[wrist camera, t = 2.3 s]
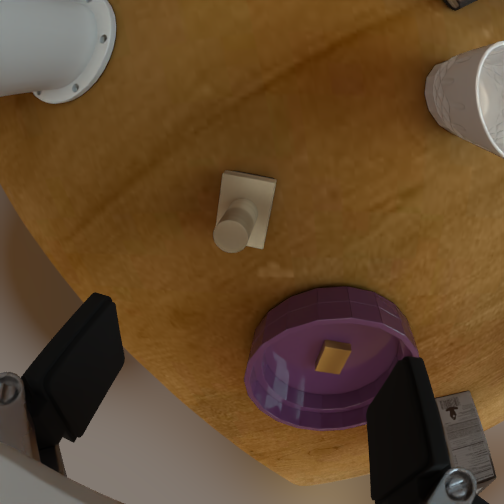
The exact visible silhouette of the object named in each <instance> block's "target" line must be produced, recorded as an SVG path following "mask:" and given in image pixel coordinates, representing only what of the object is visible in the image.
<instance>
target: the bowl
mask: <svg viewBox="0 0 504 504" xmlns="http://www.w3.org/2000/svg"><path fill="white" fill-rule="evenodd" d="M325 340H331V341H337V342H343V343H349V344H351V353H350V355H349V357H348V359H347V361H346V363H345V365H344V367H343V369H342V371H341V372H340V374H332V373H326V372H319V371H315V362H316V360H317V358H318V355H319V353H320V351H321V348H322V346H323V344H324V341H325ZM405 356H410V357H419V354H418V349H417V346H416V343H415V341H414V338H413V335H412V332H411V329H410V326H409V323H408V321H407V319H406V318H405V316H404V315H403V314H402V312H401V311H400V310H399V309H398V307H397V306H396V305H395V304H394V303H392V302H391V301H389V300H387V299H385V298H384V297H382V296H380V295H378V294H377V293H375V292H372V291H367V290H362V289H358V288H353V287H348V286H347V287H346V286H343V287H328V288H316V289H313V290H310V291H307V292H304V293H301V294H298V295H295V296H292V297H290V298H288V299H287V300H285V301H284V302H282V303H281V304H279V305H278V306H276V307H275V308H274V309H272V310H271V311H269V312H268V313H267V314H266V316H265V317H264V318H263V320H262V321H261V323H260V324H259V325H258V327H257V328H256V329H255V333H254V337H253V342H252V346H251V351H250V355H249V359H248V363H247V368H246V372H245V376H244V382H245V385H246V389H247V393H248V396H249V397H250V399H251V400H252V401H253V402H254V404H255V405H256V406H257V407H258V408H259V410H261V411H262V412H264V413H265V414H267V415H268V416H270V417H271V418H273V419H275V420H276V421H278V422H281V423H284V424H287V425H290V426H293V427H296V428H301V429H308V430H316V431H332V430H344V429H349V428H353V427H357V426H361V425H365V424H367V420H366V412H367V409H368V407H369V405H370V404H371V402H372V401H373V399H374V398H375V396H376V395H377V393H378V392H379V390H380V389H381V387H382V386H383V384H384V382H385V381H386V379H387V378H388V376H389V375H390V373H391V371H392V370H393V368H394V366H395V365H396V363H397V362H398V361H399V360H402V359H403V358H404V357H405Z"/></svg>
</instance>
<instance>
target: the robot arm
mask: <svg viewBox="0 0 504 504" xmlns="http://www.w3.org/2000/svg"><path fill="white" fill-rule="evenodd" d="M115 37H116V21H115V15H114V12H113V9H112V7H111V5H110V4H109V2H108V1H107V0H0V97H2V96H8V95H14V94H20V93H28V92H33V93H34V95H35V96H36V97H37V98H39V99H40V100H42V101H44V102H47V103H53V104H58V103H65V102H68V101H72V100H74V99H76V98H78V97H79V96H81V95H82V94H84V93H85V92H86V91H87V90H89V89H90V88H91V87H92V85H93V84H94V83H95V82H96V81H97V80H98V78H99V77H100V75H101V74H102V72H103V71H104V69H105V67H106V65H107V63H108V61H109V59H110V56H111V53H112V50H113V47H114V42H115ZM124 359H125V357H124V352H123V346H122V341H121V335H120V330H119V324H118V318H117V312H116V305H115V303H114V302H112V299H111V298H110V297H109V296H106V295H102V294H99V293H96V292H95V293H93V294H92V295H91V296H90V297H89V298H88V299H87V300H86V301H85V302H84V303H83V304H82V306H81V307H80V308H79V309H78V310H77V311H76V312H75V313H74V314H73V316H72V317H71V318H70V319H69V320H68V321H67V322H66V324H65V325H64V326H63V327H62V328H61V329H60V330H59V332H58V333H57V334H56V335H55V336H54V337H53V339H52V340H51V341H50V342H49V343H48V344H47V346H46V347H45V348H44V349H43V351H42V352H41V353H40V354H39V355H38V357H37V358H36V359H35V360H34V361H33V363H32V364H31V365H30V366H29V368H28V369H27V370H26V372H25V373H24V374H23V376H22V377H21V378H20V377H19V376H18V375H17V374H15V373H11V372H3V373H0V504H124V503H121V502H119V501H117V500H114V499H112V498H109V497H107V496H105V495H103V494H100V493H98V492H96V491H94V490H92V489H90V488H87V487H85V486H83V485H81V484H79V483H77V482H75V481H73V480H71V479H69V478H67V475H66V471H65V468H64V464H63V460H62V456H61V452H60V448H59V442H60V440H61V439H62V437H64V438H66V439H68V440H70V441H71V442H75V440H76V438H77V437H81V436H82V435H83V434H84V432H85V430H86V428H87V426H88V425H89V423H90V421H91V419H92V418H93V416H94V414H95V412H96V411H97V409H98V407H99V405H100V404H101V402H102V400H103V398H104V397H105V395H106V393H107V392H108V390H109V388H110V387H111V385H112V383H113V381H114V380H115V378H116V376H117V375H118V373H119V371H120V370H121V368H122V366H123V364H124ZM366 420H367V432H368V445H369V462H370V484H371V498H372V500H375V504H489V503H487V502H486V501H485V500H483V499H482V498H481V497H479V496H478V495H477V494H476V491H477V482H476V478H475V477H474V475H473V473H472V472H471V471H470V470H468V469H467V468H464V467H459V466H457V467H453V468H451V463H450V458H449V453H448V449H447V444H446V440H445V435H444V431H443V427H442V423H441V419H440V415H439V411H438V407H437V404H436V401H435V398H434V394H433V391H432V387H431V384H430V381H429V377H428V374H427V371H426V368H425V365H424V361H423V359H422V358H420V357H410V356H405V357H404V358H403V359H402V360H399V361H398V362H397V363H396V365H395V366H394V368H393V370H392V371H391V373H390V375H389V376H388V378H387V379H386V381H385V382H384V384H383V386H382V387H381V389H380V390H379V392H378V393H377V395H376V396H375V398H374V399H373V401H372V402H371V404H370V405H369V407H368V409H367V412H366Z"/></svg>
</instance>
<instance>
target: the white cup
mask: <svg viewBox="0 0 504 504" xmlns="http://www.w3.org/2000/svg"><path fill="white" fill-rule="evenodd" d="M425 98H426V101H427V105H428V109H429V112H430V113H431V114H432V116H433V117H434V119H435V120H436V122H437V123H438V124H439V125H440V126H441V127H443V128H444V129H446V130H448V131H449V132H451V133H452V134H454V135H457V136H459V137H460V138H462V139H464V140H466V141H468V142H471V143H473V144H475V145H476V146H478V147H480V148H483V149H485V150H487V151H489V152H491V153H493V154H495V155H497V156H499V157H501V158H503V159H504V41H500V42H497V43H493V44H490V45H487V46H483V47H480V48H477V49H473V50H470V51H467V52H464V53H461V54H459V55H457V56H454V57H452V58H450V59H449V60H447V61H444V62H442V63H439V64H437V65H435V66H434V68H433V69H432V70H431V72H430V73H429V75H428V76H427V78H426V86H425Z"/></svg>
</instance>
